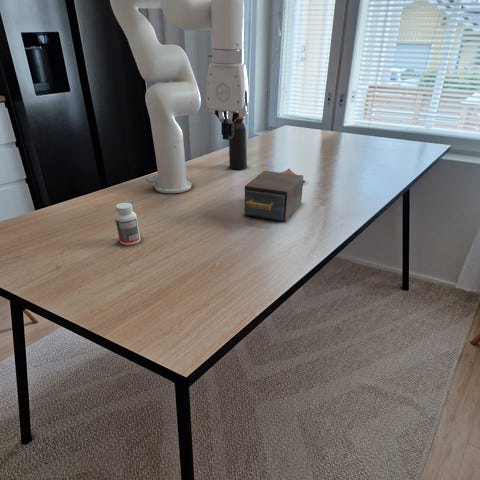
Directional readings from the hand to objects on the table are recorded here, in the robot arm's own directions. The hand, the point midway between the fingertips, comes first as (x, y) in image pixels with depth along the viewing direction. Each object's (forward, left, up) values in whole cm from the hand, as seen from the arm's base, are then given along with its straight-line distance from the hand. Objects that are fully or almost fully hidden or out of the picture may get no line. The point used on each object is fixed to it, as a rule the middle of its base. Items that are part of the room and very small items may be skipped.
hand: (227, 138), depth 109 cm
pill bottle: (-26, -17, -22) cm, 38 cm away
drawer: (+12, 0, -20) cm, 24 cm away
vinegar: (+4, +48, -22) cm, 52 cm away
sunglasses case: (+19, +25, -22) cm, 38 cm away
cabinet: (+14, +4, -21) cm, 26 cm away
